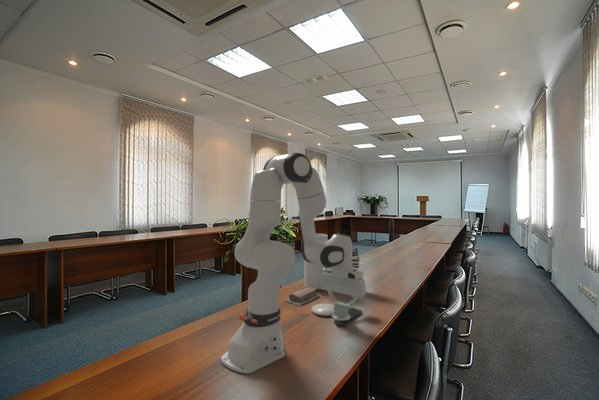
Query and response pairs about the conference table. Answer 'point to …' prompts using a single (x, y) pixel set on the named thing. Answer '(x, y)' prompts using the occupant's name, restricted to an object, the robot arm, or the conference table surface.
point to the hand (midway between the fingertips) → (342, 302)
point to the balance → (351, 315)
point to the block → (341, 310)
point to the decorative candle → (355, 258)
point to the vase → (314, 269)
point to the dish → (323, 309)
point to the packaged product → (302, 296)
